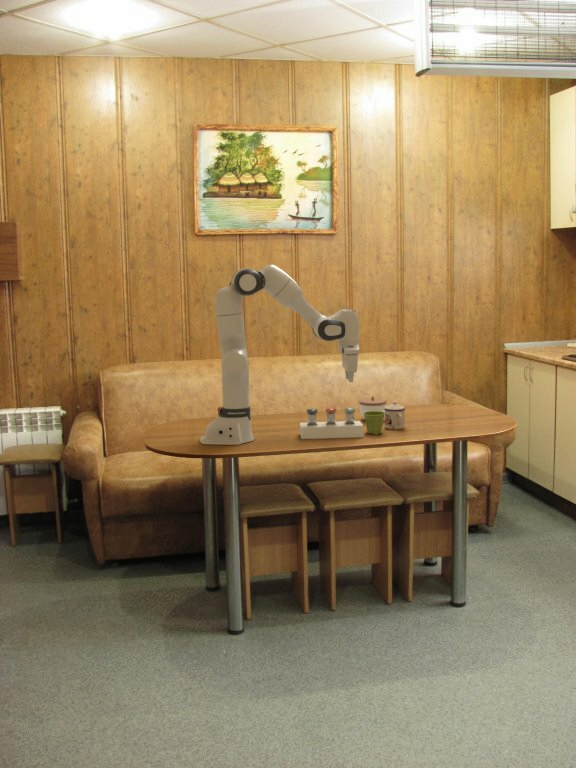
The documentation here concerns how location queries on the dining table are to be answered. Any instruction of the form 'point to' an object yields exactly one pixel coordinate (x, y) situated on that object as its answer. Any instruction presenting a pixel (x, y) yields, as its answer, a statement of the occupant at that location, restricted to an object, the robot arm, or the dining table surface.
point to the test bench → (331, 430)
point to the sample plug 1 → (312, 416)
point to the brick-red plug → (330, 415)
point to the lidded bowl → (372, 405)
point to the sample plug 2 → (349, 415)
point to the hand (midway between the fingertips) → (349, 380)
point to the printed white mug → (394, 416)
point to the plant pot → (374, 421)
